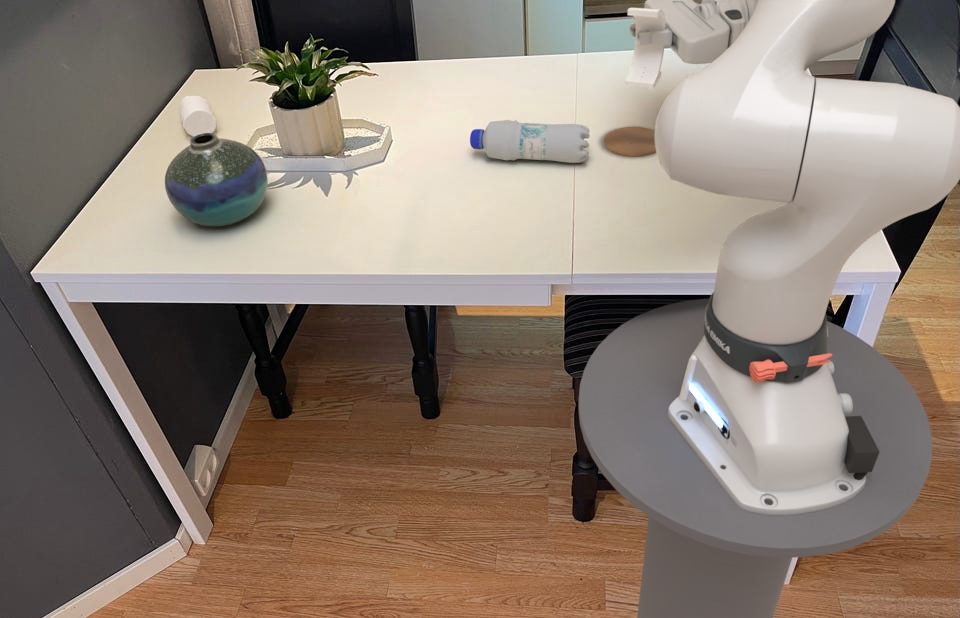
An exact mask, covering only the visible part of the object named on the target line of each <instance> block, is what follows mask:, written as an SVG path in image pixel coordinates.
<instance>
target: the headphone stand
mask: <svg viewBox="0 0 960 618" xmlns="http://www.w3.org/2000/svg"><path fill="white" fill-rule="evenodd" d="M626 15H627V16H632V17H633V19H634V22H635V27H636V37H634V38H635V39H634V48H633V56H632V60H631V65H630V68H629V71H628V74H627V76H626V78H625V80H624V87H628V88H638V89H649V90H654V88H655V87H656V85H657V84H658V82H659V81H660V79H661V78H662V71H661V69H662V65H663V58H664V53H665V46H659V45H652V44H647V45H640V43H639V42H638V41H637V33H638V31H643V30H649V31H662V30H663V29H666V22H665V15H664V12H663V10H660V9H645V8H644V7H629V8H627V14H626Z"/></svg>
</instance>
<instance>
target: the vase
mask: <svg viewBox="0 0 960 618" xmlns="http://www.w3.org/2000/svg"><path fill="white" fill-rule="evenodd" d="M189 144H190V145H187V146H186V147H185V148H184V149H182V150H181V151H180V152H178V154H176V156H175V157H173V159H172V160H171V162H170V163H169V165H168V167H167V168H166V172H165V175H164V189H165V192H166V195H167V198H168V200H169V202H170V204H171V205H172V206H173V208H174V209H175V210H176V211H177V213H178V214H180V215H181V216H182V217H183V218H185V219H186V220H188V221H190V222H192V223H194V224H197V225H201V226H205V227H224V226H230V225H234V224H237V223H240V222H241V221H243V220H245V219H247V218H249V217H250V216H251V215H252V214H254V213H255V212H256V211H257V210H258V209H259V207H260V206H261V204H262V203H263V202H264V199H265V197H266V195H267V191H268V179H269V178H268V173H267V168H266V165H265V163H264V161H263V160H262V158H261V156H260V155H259V154H258V153H257V152H256V151H255V150H254V149H252V148H251V147H250V146H248V145H246V144H245V143H242V142H240V141H236V140H232V139H227V138H218V136H217V134H215V133H214V132H213V133H203V134H199V135H196V136H194V137H193V136H192V138H191V139H190V140H189Z"/></svg>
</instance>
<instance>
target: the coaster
mask: <svg viewBox="0 0 960 618" xmlns="http://www.w3.org/2000/svg"><path fill="white" fill-rule="evenodd" d="M654 135H655V130H652V129H651V128H645V127H642V126H641V127H640V126H626V127H619V128H615V129H613V130H611V131H609V132H608V133H607V134H606V135H605V136H604V138H603V145H604V147H605V148H606V149H607V150H608V151H610V152H611V153H614V154H615V155H620V156H625V157H644V156H649V155H651V154H654V153H656V148H655V140H654Z"/></svg>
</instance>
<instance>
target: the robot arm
mask: <svg viewBox="0 0 960 618" xmlns="http://www.w3.org/2000/svg"><path fill="white" fill-rule="evenodd" d="M895 4H896V0H701V2H700V3H699V2H695V1H694V0H645V2H644V6H643V8H645V9H660V10H663V12H664V15H665V22H666V29H663V30H662V31H649V30H643V31H638V33H637V41H638V42H639V43H640V45H647V44H652V45H659V46H664V47H669V48H670V49H671V50H672V51H673V52H674V54H676V56H678V58H679V59H680V60H681V61H682V62H683V63H685V64H690V65H702V64H703V65H705V64H707V65H706V66H704V67H702V68H701V69H700V70H698V71H696V72H694V73H693V74H691V75H689V76H686V77H685V78H684V79H682V80H680V82H678V83H677V85H676V86H675V87H673V89H672V90H671V91H670V92H669V94H668V95H667V96H666V97H665V99H664V101H663V103H662V104H661V106H660V109H659V111H658V114H657V116H656V120H655V125H654V131H655V135H654V140H655V148H656V152H655V154H656V156H657V158H658V162H659V164H660V166H661V168H662V170H663V171H664V173H665V175H667V177H668V178H669V179H670V180H671V181H673V182H676V183H680V184H682V185H686V186H689V187H691V188H693V189H697V190H701V191H704V192H708V193H710V194H714V195H719V196H728V197H735V198H743V199H753V200H760V201H769V202H777V203H786V204H784V205H782V206H780V207H777V208H775V209H771V210H768V211H765V212H762V213H758V214H756V215H753V216H751V217H749V218H747V219H745V220H744V221H742V222H741V223H740V224H739V225H737V226H736V227H735V228H734V229H732V231H730V233H728V235H727V236H726V238H725V239H724V241H723V243H722V244H721V247H720V250H719V257H718V263H717V270H716V274H715V281H714V288H713V292H712V293H711V294H710V297H709V298H708V299H709V302H708V305H707V307H706V311H705V318H704V321H705V323H704V336H703V338H702V340H701V341H700V343H699V345H698V346H697V348H696V349H695V351H694V352H693V353H692V355H691V357H690V358H689V361H688V365H687V369H686V373H685V376H684V380H683V384H682V388H681V392H680V395H679V396H678V397H677V398H676V399H675V400H674V401H673V402H672V403H671V404H670V406H669V409H668V412H667V416H668V418H669V419H670V421H671V422H672V423H673V424H674V426H675V427H676V428H677V430H678V431H679V432H680V433H681V435H682V436H683V437H684V439H685V440H686V441H687V442H688V444H689V445H690V446H691V448H692V449H693V450H694V451H695V453H696V454H697V455H698V456H699V458H700V459H701V460H702V462H703V463H704V464H705V465H706V467H707V468H708V469H709V471H710V472H711V473H712V474H713V476H714V477H715V478H716V479H717V481H718V482H719V483H720V485H721V486H722V487H723V488H724V490H725V491H726V492H727V494H728V495H729V496H730V497H731V499H732V500H733V501H734V502H735V504H736V505H737V506H738V507H739V508H741V509H743V510H746V511H749V512H753V513H757V514H764V515H796V514H803V513H810V512H815V511H819V510H824V509H828V508H831V507H834V506H837V505H840V504H842V503H844V502H847V501H848V500H850V499H852V498H853V497H855V496H856V495H857V494H859V493H860V491H861V490H862V489H863V488H864V486H865V482H866V477H865V475H866V474H867V473H868V472H872V470H873V468H874V465H875V463H876V460H877V458H878V455H879V452H880V451H879V449H878V447H877V445H876V444H875V442H874V440H873V438H872V436H871V434H870V432H869V430H868V428H867V426H866V424H865V422H864V420H863V418H862V416H846V417H845V415H849V414H851V413H852V410H853V403H852V399H851V397H850V395H849V394H847V393H840V394H838V393H837V390H836V387H835V384H834V381H833V378H832V375H831V374H833V373H834V364H833V362H831V361H830V360H826V359H827V358H829V357H831V356H832V353H828V354H827V337H828V327H827V321H828V318H827V317H828V316H827V313H826V312H827V308H828V305H829V303H830V299H831V296H832V294H833V291H834V288H835V286H836V283H837V281H838V279H839V276H840V273H841V271H842V270H843V267H844V266H845V264H846V263H847V261H848V260H849V259H850V258H851V256H852V255H854V253H855V252H856V250H858V248H860V247H861V246H862V245H863V244H864V243H865V242H867V241H868V240H869V239H870V238H872V237H873V236H875V235H876V234H877V233H879V232H880V231H882V230H884V229H885V228H888V226H890V225H892V224H894V223H896V222H898V221H900V220H902V219H905V218H907V217H909V216H912V215H915V214H918V213H921V212H924V211H927V210H929V209H931V208H932V207H934V206H935V205H937V204H938V203H940V202H941V201H943V200H944V199H945V198H946V197H947V196H948V195H949V194H950V193H951V192H952V190H953V189H955V187H956V185H957V184H958V183H959V181H960V105H959V104H958V102H957V101H955V99H953V98H952V97H949V96H946V95H942V94H938V93H935V92H932V91H928V90H924V89H921V88H917V87H913V86H908V85H905V84H900V83H897V82H883V81H870V80H869V81H868V80H854V79H843V78H842V79H841V78H840V79H839V78H826V77H815V76H814V75H810V74H808V73H807V72H806V71H807V70H808V69H809V68H810V67H811V66H812V65H814V64H815V63H816V62H818V61H820V60H822V59H824V58H825V57H828V56H830V55H833V54H836V53H839V52H842V51H845V50H847V49H849V48H852V47H854V46H857V45H858V44H860V43H862V42H863V41H866V39H868V38H869V37H871V36H872V35H873V34H875V33H876V32H877V31H878V30H880V28H881V27H882V26H883V25H884V24H885V23H886V21H887V20H888V18H889V17H890V15H891V14H892V12H893V9H894V7H895ZM629 34H631V36H632V37H633V38H635V37H636V27H635V21H634V22H631V23H630V24H629ZM682 419H686V420H682ZM841 489H844V490H845V491H842V490H841ZM765 503H770V504H771V505H767V504H765Z"/></svg>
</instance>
